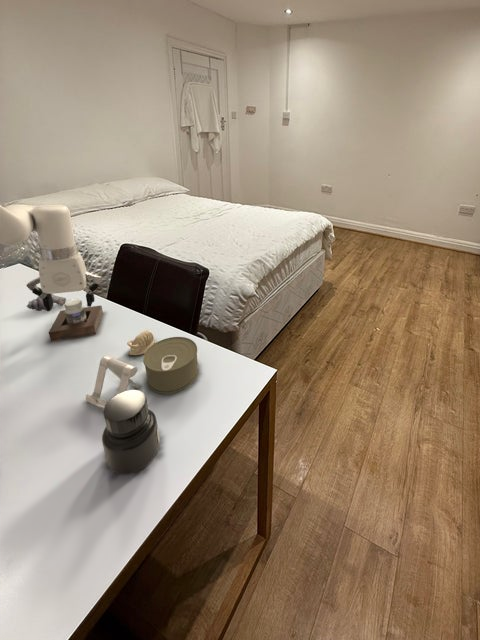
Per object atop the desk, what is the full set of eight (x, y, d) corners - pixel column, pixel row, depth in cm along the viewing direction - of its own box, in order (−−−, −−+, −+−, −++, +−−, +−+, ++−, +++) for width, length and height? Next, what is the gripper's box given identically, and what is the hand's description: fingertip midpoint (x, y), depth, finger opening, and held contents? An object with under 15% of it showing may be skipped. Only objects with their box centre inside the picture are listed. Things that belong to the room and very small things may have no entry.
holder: (50, 341, 88) (48, 332, 87) (62, 319, 97) (60, 310, 96) (96, 334, 92) (94, 325, 90) (103, 313, 101) (101, 305, 100)
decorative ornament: (159, 343, 89) (157, 327, 87) (134, 362, 82) (131, 345, 80) (148, 339, 91) (146, 323, 89) (123, 357, 84) (119, 341, 82)
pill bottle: (76, 333, 92) (70, 308, 88) (64, 328, 93) (58, 304, 90) (91, 324, 96) (86, 299, 93) (80, 320, 97) (74, 296, 94)
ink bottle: (171, 437, 64) (165, 391, 60) (141, 482, 56) (131, 433, 52) (129, 425, 66) (120, 380, 62) (94, 467, 58) (81, 419, 54)
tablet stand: (86, 403, 70) (79, 373, 67) (117, 378, 77) (112, 350, 74) (115, 417, 67) (109, 387, 64) (145, 390, 74) (140, 361, 71)
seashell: (68, 306, 106) (30, 316, 100) (65, 290, 106) (26, 300, 101) (66, 303, 101) (26, 314, 96) (63, 287, 102) (22, 297, 96)
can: (201, 356, 85) (200, 335, 83) (195, 392, 74) (193, 369, 72) (154, 359, 83) (151, 338, 81) (140, 397, 72) (136, 373, 70)
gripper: (13, 259, 79) (28, 318, 85) (94, 254, 85) (103, 309, 91) (25, 248, 86) (38, 303, 92) (99, 244, 92) (107, 296, 98)
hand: (70, 306), depth 91 cm, fingers open, 9 cm apart
